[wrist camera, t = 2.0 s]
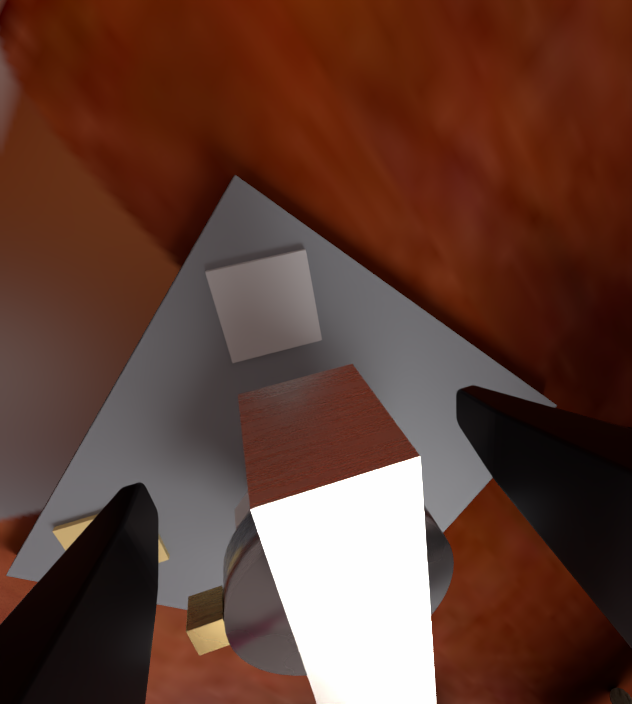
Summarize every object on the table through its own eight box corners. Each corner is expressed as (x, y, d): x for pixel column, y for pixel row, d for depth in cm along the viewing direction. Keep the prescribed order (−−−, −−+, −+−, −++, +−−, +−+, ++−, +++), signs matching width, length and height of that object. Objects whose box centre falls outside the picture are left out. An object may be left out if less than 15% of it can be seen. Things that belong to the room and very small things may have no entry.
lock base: (543, 396, 18) (620, 447, 14) (342, 624, 21) (366, 708, 18) (234, 175, 11) (242, 175, 8) (15, 556, 15) (-43, 669, 11)
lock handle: (434, 643, 16) (508, 798, 12) (252, 713, 15) (267, 908, 11) (415, 313, 10) (559, 412, 6) (92, 396, 9) (-15, 591, 5)
